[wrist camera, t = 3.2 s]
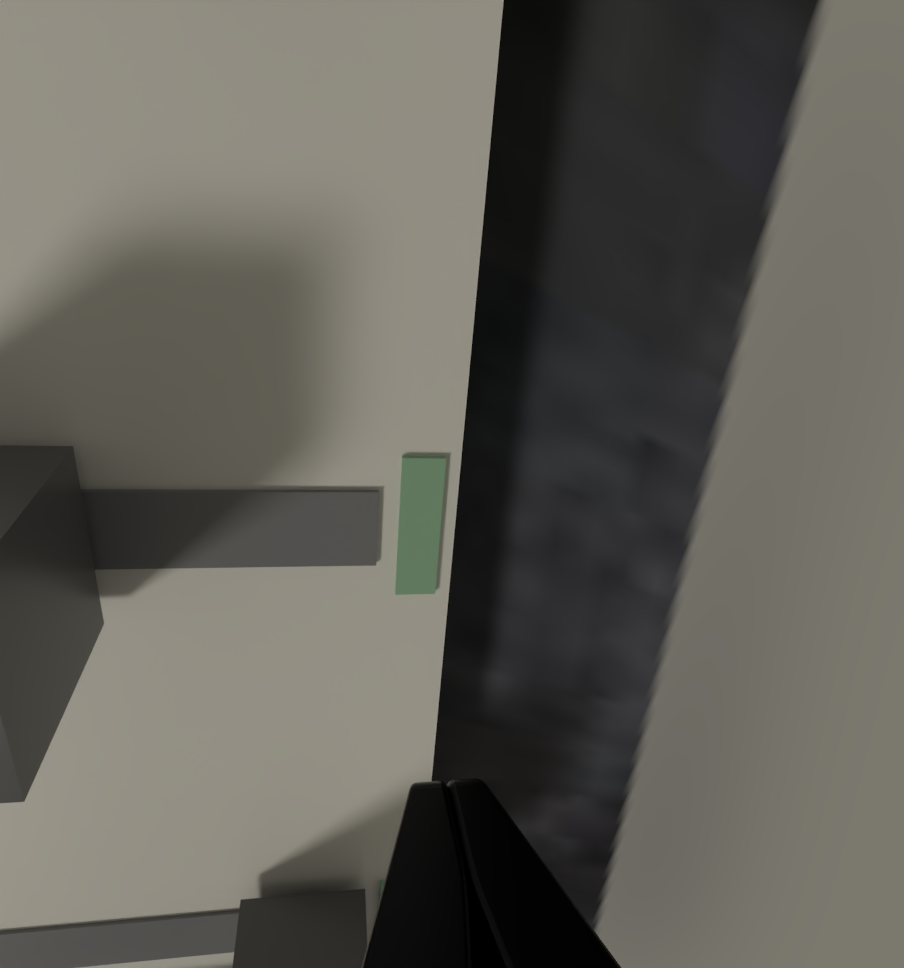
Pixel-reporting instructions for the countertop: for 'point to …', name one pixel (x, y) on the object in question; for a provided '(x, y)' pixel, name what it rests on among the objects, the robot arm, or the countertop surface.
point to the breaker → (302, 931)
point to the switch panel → (238, 440)
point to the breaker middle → (41, 604)
